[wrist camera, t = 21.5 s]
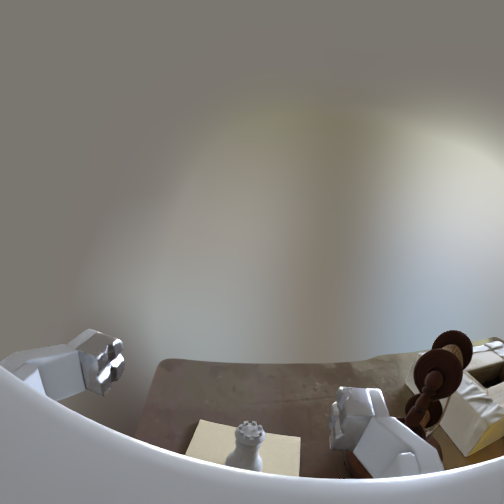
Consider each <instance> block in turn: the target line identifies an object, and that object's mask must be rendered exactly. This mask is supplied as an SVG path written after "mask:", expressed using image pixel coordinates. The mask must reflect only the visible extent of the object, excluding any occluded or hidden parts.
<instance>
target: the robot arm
mask: <svg viewBox="0 0 504 504" xmlns="http://www.w3.org/2000/svg"><path fill="white" fill-rule="evenodd" d="M122 350H123V344H122V341H120V340H119V339H116V338H114V337H111V336H108V335H106V334H103V333H100V332H98V331H95V330H92V329H87V330H85V331H84V332H82V333H81V334H80V335H79V336H77V337H76V338H74V339H73V340H72V341H71V342H69V343H68V344H66V345H64V344H60V345H54V346H48V347H42V348H37V349H30V350H24V351H17V352H14V353H12V354H11V355H10V356H8V357H7V358H5V359H4V360H3V361H1V362H0V504H504V456H502V457H499V458H496V459H492V460H489V461H485V462H481V463H478V464H474V465H469V466H465V467H461V468H456V469H451V470H446V471H445V470H444V467H443V465H442V462H441V460H440V457H439V455H438V452H437V450H436V449H435V448H434V447H433V446H431V445H430V444H429V443H427V442H426V441H425V440H423V439H422V438H421V437H419V436H418V435H417V434H415V433H414V432H413V431H411V430H410V429H409V428H407V427H406V426H405V425H403V424H402V423H401V422H400V421H398V420H397V419H396V418H394V417H390V415H389V412H388V410H387V407H386V404H385V401H384V398H383V395H382V393H381V390H380V389H374V388H366V389H363V388H350V387H340V388H339V389H338V391H337V394H336V400H337V401H336V402H335V403H333V404H332V406H331V409H330V412H329V417H328V428H329V429H330V430H331V434H330V436H329V441H330V450H340V451H353V453H354V455H355V456H356V457H357V458H358V460H359V461H360V462H361V463H362V464H363V466H364V467H365V468H366V469H367V471H368V472H369V473H370V474H371V475H372V477H373V478H374V479H324V478H307V477H295V476H285V475H277V474H270V473H263V472H256V471H250V470H245V469H239V468H234V467H229V466H225V465H220V464H216V463H212V462H208V461H204V460H200V459H196V458H192V457H189V456H185V455H182V454H178V453H175V452H172V451H168V450H165V449H162V448H159V447H156V446H153V445H151V444H148V443H145V442H142V441H140V440H137V439H134V438H132V437H129V436H127V435H124V434H122V433H119V432H117V431H115V430H112V429H110V428H108V427H105V426H103V425H101V424H99V423H97V422H94V421H92V420H90V419H88V418H86V417H84V416H82V415H80V414H78V413H76V412H74V411H72V410H70V409H69V408H67V407H65V406H63V405H61V404H59V403H58V402H56V401H59V400H62V399H64V398H67V397H69V396H72V395H74V394H77V393H79V392H82V391H84V390H86V389H87V390H89V391H92V392H94V393H97V394H99V395H102V396H104V395H105V394H106V393H107V392H108V391H109V390H110V389H111V388H112V382H114V381H117V380H118V379H119V378H120V377H121V376H122V373H123V371H124V358H123V357H122V355H121V354H120V353H121V351H122Z"/></svg>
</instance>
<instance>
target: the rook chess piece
mask: <svg viewBox="0 0 504 504" xmlns="http://www.w3.org/2000/svg"><path fill="white" fill-rule="evenodd" d="M256 424H257V422H255V421H252V424H251V423H249V422H248V421H245V422H244V423H243V425H242V424H240V426H239V427H237V428H236V430H235V437H236V440H235V444H236V448H235V450H233V451H232V452H231V453H229V454H228V456H227V458H226V461H225V463H224V465H225V466H229V467H234V468H239V469H245V470H250V471H256V472H261V470H262V460H261V458H260V456H259V454H258V449H259V448H260V447H261V443H262V442H263V441H264V440H265V437H266V436H265V432H264V431H263V427H262V425H261V424H260V425H256Z"/></svg>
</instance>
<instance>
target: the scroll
mask: <svg viewBox="0 0 504 504" xmlns="http://www.w3.org/2000/svg"><path fill="white" fill-rule="evenodd" d="M472 356H473V346H472V343H471V341H470V339H469V338H468V337H467V336H466V335H465V334H464V333H462V332H460V331H457V330H450V331H446V332H444V333H442V334H441V335H440V336H438V338H437V339H436V340H435V342H434V343H433V346H432V350H430V351H428V352H426V353H424V354H423V355H422V356H421V357H420V358H419V359H418V361H417V362H416V365H415V367H414V372H413V377H414V382H415V385H416V387H417V389H418V391H419V393H418V394H415V395H414V396H412V397H411V398H410V399H409V400H408V402H407V404H406V407H405V413H406V417H400V418H396V417H394V418H396V419H397V420H398V421H400V422H401V423H402V424H403V425H405V426H406V427H407V428H409V429H410V430H411V431H413V432H414V433H415V434H417V435H418V436H419V437H421V438H422V439H423V440H425V441H426V442H427V443H429V444H430V445H431V446H433V447H434V448H435V449H436V450H437V452H438V455H439V457H440V460H441V462H442V460H443V458H442V451H441V448H440V446H439V444H438V442H437V441H436V439H435V438H434V437H433V436H432V435H433V434H434V432H435V430H436V429H437V427H438V425H439V423H440V422H441V420H442V418H443V416H444V414H445V411H446V409H447V406H448V403H449V400H450V398H451V395H452V394H453V393H454V392H456V390H457V389H458V388H459V386H460V384H461V382H462V378H463V370H464V369H465V368H466V367H467V366H468V365H469V363H470V362H471V359H472ZM447 397H448V399H447V402H446V405H445V408H444V410H443V408H442V404H441V402H440V399H444V398H447ZM438 421H439V422H438ZM437 422H438V424H437V426H436V427H435V428H434V429H433V430H432V431H430V432H428V431H427V430H426V429H424V428H429V427H432V426H434V425H435V424H436V423H437ZM344 464H345V465H347V467H348V470H349V471H350V473H351V474H352V475H353V477H354V478H355V479H374V478H373V477H372V475H371V474H370V473H369V472H368V471H367V469H366V468H365V467H364V466H363V464H362V463H361V462H360V461H359V460H358V458H357V457H356V456H355V455H354V453H353V451H344Z"/></svg>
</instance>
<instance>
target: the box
mask: <svg viewBox="0 0 504 504" xmlns="http://www.w3.org/2000/svg"><path fill="white" fill-rule="evenodd" d="M425 353H426V352H425ZM423 354H424V353H418V354H417V355H416V357H415V359H414V361H413V363H412V365H411V368H410V370H409V373H408V375H407V377H406V380H405V383H406V384H407V385H408V387H409V388H410V389H411V390H412V392H413V393H414V394H418V393H419V391H418V389H417V387H416V385H415V382H414V377H413V372H414V367H415V365H416V362H417V361H418V359H419V358H420V357H421V356H422V355H423ZM447 399H448V397H447V398H444V399H440V402H441V404H442V408H443V410H444V408H445V405H446V402H447ZM438 422H439V421H438ZM439 425H440V426H441V427H442V428H443V430H444V431H445V432H446V433H447V435H448V436H449V437H450V438H451V440H452V441H453V442H454V444H455V445H456V446H457V447H458V449H459V450H460V451H461V452H462V454H463V455H464V456H465V457H468V456H470V455H472V454H474V453H475V452H477V451H479V450H481V449H483V448H484V447H486V446H488V445H489V444H491V443H493V442H494V441H496V440H498V439H499V438H501V437H503V436H504V344H502V343H501V342H500V341H495V342H492V343H486V344H484V345H483V346H477V347H473V356H472V359H471V362H470V363H469V365H468V366H467V367H466V368H465V369H464V370H463V378H462V382H461V384H460V386H459V388H458V389H457V390H456V392H454V393H453V394H452V395H451V398H450V400H449V403H448V406H447V409H446V411H445V414H444V416H443V418H442V420H441V422H440V423H439Z"/></svg>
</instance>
